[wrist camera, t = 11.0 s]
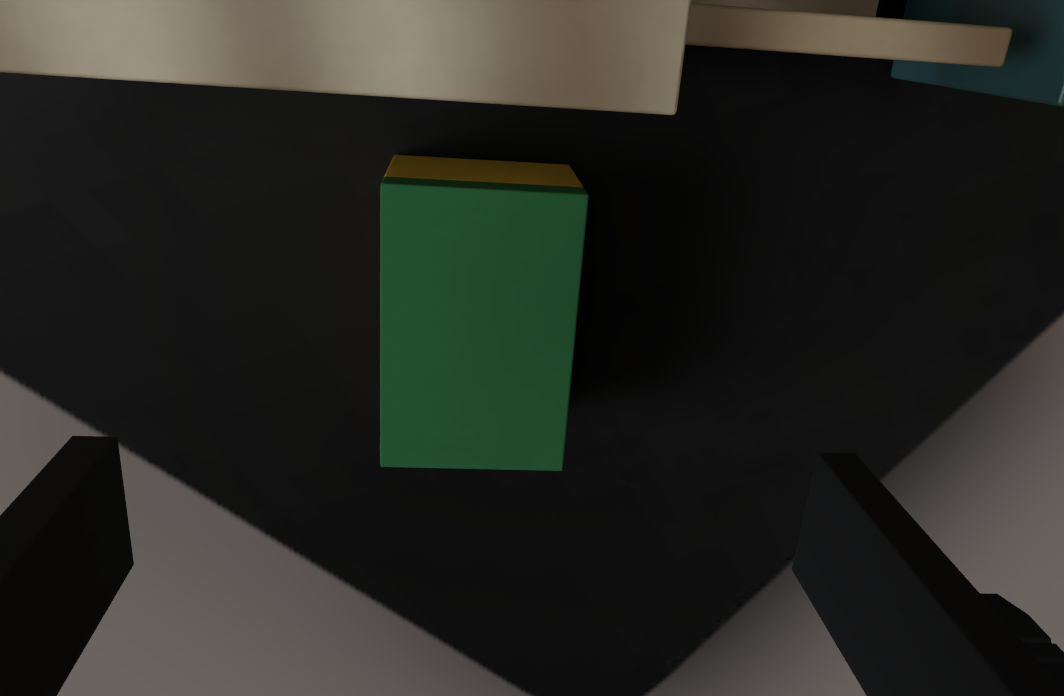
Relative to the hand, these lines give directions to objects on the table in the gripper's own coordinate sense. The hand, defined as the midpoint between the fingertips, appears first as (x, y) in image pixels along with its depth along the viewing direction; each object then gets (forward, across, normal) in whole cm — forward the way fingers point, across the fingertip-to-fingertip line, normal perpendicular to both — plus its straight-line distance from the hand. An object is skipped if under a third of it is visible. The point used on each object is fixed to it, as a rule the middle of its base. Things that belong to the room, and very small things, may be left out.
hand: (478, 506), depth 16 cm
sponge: (+13, 0, 0) cm, 13 cm away
